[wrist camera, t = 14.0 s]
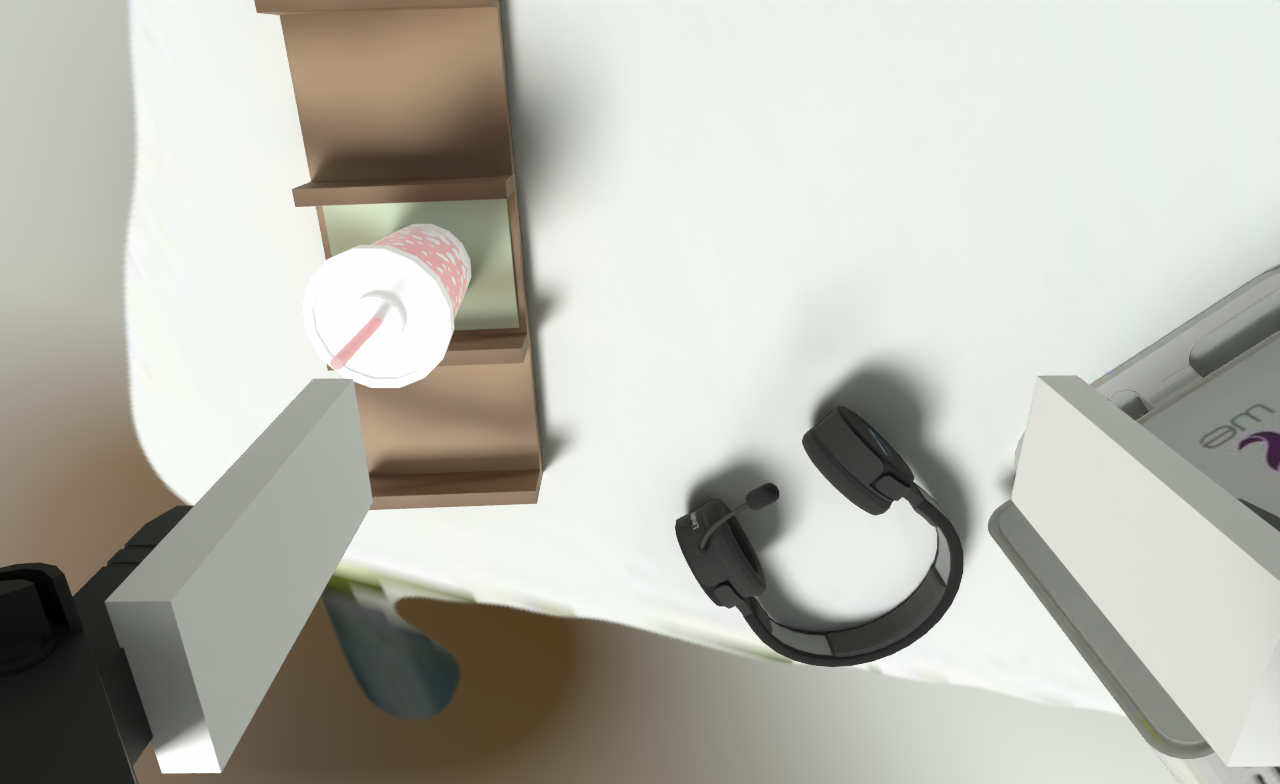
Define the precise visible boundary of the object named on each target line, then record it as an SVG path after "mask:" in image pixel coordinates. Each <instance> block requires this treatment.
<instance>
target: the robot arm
mask: <svg viewBox="0 0 1280 784" xmlns="http://www.w3.org/2000/svg"><path fill="white" fill-rule="evenodd" d="M1011 500H1012V501H1013V503H1014V504H1015V505H1016V506H1017V508H1018V509H1019V510H1020V511H1021V513H1022V514H1023V515H1024V516H1025V517H1026V519H1027V520H1028V521H1029V522H1030V524H1031V525H1032V526H1033V527H1034V529H1035V530H1036V531H1037V532H1038V534H1039V535H1040V536H1041V537H1042V538H1043V540H1044V541H1045V542H1046V543H1047V545H1048V546H1049V547H1050V548H1051V550H1052V551H1053V552H1054V553H1055V555H1056V556H1057V557H1058V558H1059V559H1060V561H1061V562H1062V563H1063V564H1064V566H1065V567H1066V568H1067V569H1068V571H1069V572H1070V573H1071V574H1072V576H1073V577H1074V578H1075V579H1076V580H1077V582H1078V583H1079V584H1080V585H1081V587H1082V588H1083V589H1084V590H1085V592H1086V593H1087V594H1088V595H1089V597H1090V598H1091V599H1092V600H1093V602H1094V603H1095V604H1096V605H1097V606H1098V608H1099V609H1100V610H1101V611H1102V613H1103V614H1104V615H1105V616H1106V618H1107V619H1108V620H1109V621H1110V623H1111V624H1112V625H1113V626H1114V627H1115V629H1116V630H1117V631H1118V632H1119V634H1120V635H1121V636H1122V637H1123V639H1124V640H1125V641H1126V642H1127V644H1128V645H1129V646H1130V647H1131V648H1132V650H1133V651H1134V652H1135V653H1136V655H1137V656H1138V657H1139V658H1140V660H1141V661H1142V662H1143V663H1144V665H1145V666H1146V667H1147V668H1148V670H1149V671H1150V672H1151V673H1152V674H1153V676H1154V677H1155V678H1156V679H1157V681H1158V682H1159V683H1160V684H1161V686H1162V687H1163V688H1164V689H1165V691H1166V692H1167V693H1168V694H1169V695H1170V697H1171V698H1172V699H1173V700H1174V702H1175V703H1176V704H1177V705H1178V707H1179V708H1180V709H1181V710H1182V712H1183V713H1184V714H1185V715H1186V716H1187V718H1188V719H1189V720H1190V721H1191V723H1192V724H1193V725H1194V726H1195V728H1196V729H1197V730H1198V731H1199V733H1200V734H1201V735H1202V736H1203V738H1204V739H1205V740H1206V741H1207V742H1208V744H1209V745H1210V746H1211V747H1212V749H1213V750H1214V751H1215V752H1216V754H1217V755H1218V756H1219V757H1220V759H1221V760H1222V761H1223V762H1224V763H1225V765H1226V766H1227V767H1265V766H1280V518H1279V517H1278V516H1276V515H1274V514H1272V513H1270V512H1268V511H1266V510H1264V509H1261V508H1259V507H1257V506H1255V505H1253V504H1251V503H1249V502H1247V501H1245V500H1243V499H1236V498H1235V497H1234V496H1232V495H1231V494H1230V493H1228V492H1227V491H1226V490H1225V489H1223V488H1222V487H1221V486H1219V485H1218V484H1217V483H1216V482H1214V481H1213V480H1212V479H1210V478H1209V477H1208V476H1206V475H1205V474H1204V473H1203V472H1201V471H1200V470H1199V469H1197V468H1196V467H1195V466H1193V465H1192V464H1191V463H1190V462H1188V461H1187V460H1186V459H1184V458H1183V457H1182V456H1180V455H1179V454H1178V453H1177V452H1175V451H1174V450H1173V449H1171V448H1170V447H1169V446H1168V445H1166V444H1165V443H1164V442H1162V441H1161V440H1160V439H1158V438H1157V437H1156V436H1155V435H1153V434H1152V433H1151V432H1149V431H1148V430H1147V429H1145V428H1144V427H1143V426H1142V425H1140V424H1139V423H1138V422H1136V421H1135V420H1134V419H1133V418H1131V417H1130V416H1129V415H1127V414H1126V413H1125V412H1123V411H1122V410H1121V409H1120V408H1118V407H1117V406H1116V405H1114V404H1113V403H1112V402H1110V401H1109V400H1108V399H1107V398H1105V397H1104V396H1103V395H1101V394H1100V393H1099V392H1097V391H1096V390H1095V389H1094V388H1092V387H1091V386H1090V385H1088V384H1087V383H1086V382H1085V381H1083V380H1082V379H1081V378H1079V377H1078V376H1037V379H1036V384H1035V389H1034V393H1033V398H1032V403H1031V407H1030V412H1029V417H1028V421H1027V426H1026V431H1025V435H1024V440H1023V445H1022V449H1021V454H1020V459H1019V463H1018V468H1017V473H1016V477H1015V482H1014V487H1013V491H1012V496H1011ZM372 503H373V499H372V493H371V487H370V480H369V474H368V468H367V461H366V455H365V449H364V442H363V436H362V430H361V424H360V417H359V411H358V405H357V398H356V392H355V386H354V380H353V379H313V380H312V381H311V382H310V383H309V384H308V385H307V386H306V387H305V388H304V389H303V390H302V391H301V392H300V394H299V395H298V396H297V397H296V398H295V399H294V400H293V401H292V402H291V403H290V404H289V405H288V406H287V407H286V408H285V410H284V411H283V412H282V413H281V414H280V415H279V416H278V417H277V418H276V419H275V420H274V421H273V422H272V423H271V425H270V426H269V427H268V428H267V429H266V430H265V431H264V432H263V433H262V434H261V435H260V436H259V437H258V438H257V439H256V441H255V442H254V443H253V444H252V445H251V446H250V447H249V448H248V449H247V450H246V451H245V452H244V453H243V454H242V455H241V457H240V458H239V459H238V460H237V461H236V462H235V463H234V464H233V465H232V466H231V467H230V468H229V469H228V470H227V471H226V473H225V474H224V475H223V476H222V477H221V478H220V479H219V480H218V481H217V482H216V483H215V484H214V485H213V486H212V487H211V489H210V490H209V491H208V492H207V493H206V494H205V495H204V496H203V497H202V498H201V499H200V500H199V501H198V502H197V503H196V505H195V506H176V507H174V508H172V509H171V510H169V511H167V512H165V513H164V514H162V515H160V516H159V517H157V518H155V519H153V520H152V521H150V522H148V523H147V524H145V525H144V526H143V527H142V528H141V529H140V530H139V531H138V532H137V533H136V534H135V535H134V536H133V537H132V538H131V539H130V540H129V541H128V542H127V543H126V544H125V548H124V549H120V550H119V551H118V552H117V553H116V554H115V555H114V556H113V557H112V558H111V559H110V560H109V561H108V562H107V567H102V568H101V569H100V570H99V571H98V572H97V573H96V574H95V575H94V576H93V577H92V578H91V579H90V580H89V581H88V582H87V583H86V584H85V585H84V586H83V587H82V588H81V589H80V590H79V591H78V592H77V593H76V594H75V595H74V596H73V597H72V595H71V592H70V589H69V586H68V583H67V580H66V578H65V575H64V574H63V572H62V571H61V570H59V568H57V566H54V565H49V564H44V563H25V564H15V565H11V566H7V567H2V568H0V784H138V781H137V778H136V775H135V772H134V769H133V765H134V764H135V762H136V761H137V759H138V758H139V756H140V755H141V754H142V752H143V751H144V749H145V748H146V746H147V745H148V743H149V742H150V740H151V741H152V745H153V747H154V751H155V754H156V757H157V760H158V762H159V765H160V768H161V771H162V773H221V772H222V770H223V768H224V767H225V765H226V763H227V761H228V759H229V758H230V756H231V754H232V752H233V751H234V749H235V747H236V745H237V744H238V742H239V740H240V738H241V736H242V735H243V733H244V731H245V729H246V727H247V726H248V724H249V722H250V720H251V719H252V717H253V715H254V713H255V711H256V710H257V708H258V706H259V704H260V703H261V701H262V699H263V697H264V695H265V694H266V692H267V690H268V688H269V687H270V685H271V683H272V681H273V679H274V678H275V676H276V674H277V672H278V671H279V669H280V667H281V665H282V663H283V662H284V660H285V658H286V656H287V654H288V653H289V651H290V649H291V647H292V645H293V644H294V642H295V640H296V638H297V637H298V635H299V633H300V631H301V630H302V627H303V626H304V624H305V622H306V621H307V619H308V617H309V615H310V614H311V612H312V610H313V608H314V606H315V605H316V603H317V601H318V599H319V598H320V596H321V594H322V592H323V590H324V589H325V587H326V585H327V583H328V582H329V580H330V578H331V576H332V574H333V573H334V571H335V569H336V567H337V565H338V564H339V562H340V560H341V558H342V557H343V555H344V553H345V551H346V549H347V548H348V546H349V544H350V542H351V541H352V539H353V537H354V535H355V533H356V532H357V530H358V528H359V526H360V525H361V523H362V521H363V519H364V517H365V516H366V514H367V512H368V510H369V509H370V507H371V505H372Z"/></svg>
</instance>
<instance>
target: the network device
mask: <svg viewBox="0 0 1280 784" xmlns="http://www.w3.org/2000/svg"><path fill="white" fill-rule="evenodd" d="M1278 289H1280V268H1277V269H1274V270H1271V271H1268V272H1265V273H1263V274H1261V275H1260V276H1258V277H1256V278H1254V279H1253V280H1251V281H1250V282H1248V283H1246V284H1245V285H1243V286H1242V287H1240V288H1239V289H1237V290H1236V291H1234V292H1233V293H1231V294H1230V295H1228V296H1226V297H1225V298H1223V299H1222V300H1220V301H1219V302H1217V303H1216V304H1214V305H1213V306H1211V307H1210V308H1208V309H1206V310H1205V311H1203V312H1202V313H1200V314H1199V315H1197V316H1196V317H1194V318H1193V319H1191V320H1190V321H1188V322H1186V323H1185V324H1183V325H1182V326H1180V327H1179V328H1177V329H1176V330H1174V331H1173V332H1171V333H1170V334H1168V335H1167V336H1165V337H1163V338H1162V339H1160V340H1159V341H1157V342H1156V343H1154V344H1153V345H1151V346H1150V347H1148V348H1147V349H1145V350H1143V351H1142V352H1140V353H1139V354H1137V355H1136V356H1134V357H1133V358H1131V359H1130V360H1128V361H1127V362H1125V363H1123V364H1122V365H1120V366H1119V367H1117V368H1116V369H1114V370H1113V371H1111V372H1110V373H1108V374H1107V375H1105V376H1103V377H1102V378H1100V379H1099V380H1097V381H1096V382H1094V383H1093V384H1091V385H1090V386H1091V387H1092V388H1094V389H1095V390H1096V391H1097V392H1099V393H1100V394H1101V395H1103V396H1104V397H1105V398H1107V399H1108V398H1110V397H1111V396H1113V395H1114V394H1116V393H1118V392H1121V391H1127V390H1129V391H1135V392H1136V393H1137V395H1138V396H1139V398H1140V399H1141V401H1142V403H1143V404H1144V406H1145V407H1146V409H1147V411H1148V413H1147V414H1145V415H1143V416H1142V417H1140V418H1139V419H1137V420H1135V421H1136V422H1138V423H1139V424H1140V425H1142V426H1143V427H1144V428H1145V429H1147V430H1148V431H1149V432H1151V433H1152V434H1153V435H1155V436H1156V437H1157V438H1158V439H1160V440H1161V441H1162V442H1164V443H1165V444H1166V445H1168V446H1169V447H1170V448H1171V449H1173V450H1174V451H1175V452H1177V453H1178V454H1179V455H1180V456H1182V457H1183V458H1184V459H1186V460H1187V461H1188V462H1190V463H1191V464H1192V465H1193V466H1195V467H1196V468H1197V469H1199V470H1200V471H1201V472H1203V473H1204V474H1205V475H1206V476H1208V477H1209V478H1210V479H1212V480H1213V481H1214V482H1216V483H1217V484H1218V485H1219V486H1221V487H1222V488H1223V489H1225V490H1226V491H1227V492H1228V493H1230V494H1231V495H1232V496H1234V497H1235V498H1236V499H1243V500H1245V501H1247V502H1249V503H1251V504H1253V505H1255V506H1257V507H1259V508H1261V509H1264V510H1266V511H1268V512H1270V513H1272V514H1274V515H1276V516H1278V517H1279V518H1280V330H1278V331H1277V332H1275V333H1274V334H1272V335H1270V336H1269V337H1267V338H1266V339H1264V340H1263V341H1261V342H1259V343H1258V344H1256V345H1255V346H1253V347H1251V348H1250V349H1248V350H1247V351H1245V352H1243V353H1242V354H1240V355H1239V356H1237V357H1236V358H1234V359H1232V360H1231V361H1229V362H1228V363H1226V364H1224V365H1223V366H1221V367H1220V368H1218V369H1216V370H1215V371H1213V372H1212V373H1210V374H1209V375H1207V376H1205V377H1204V378H1203V377H1202V376H1200V375H1199V374H1198V373H1197V372H1196V371H1195V370H1194V369H1193V368H1192V367H1191V366H1190V364H1189V356H1190V352H1191V350H1192V348H1193V347H1194V345H1195V344H1196V343H1197V342H1198V341H1199V340H1200V339H1202V338H1203V337H1205V336H1206V335H1208V334H1209V333H1211V332H1212V331H1214V330H1215V329H1217V328H1219V327H1220V326H1222V325H1223V324H1225V323H1226V322H1228V321H1229V320H1231V319H1233V318H1234V317H1236V316H1237V315H1239V314H1240V313H1242V312H1243V311H1245V310H1247V309H1248V308H1250V307H1251V306H1253V305H1254V304H1256V303H1257V302H1259V301H1261V300H1262V299H1264V298H1265V297H1267V296H1268V295H1270V294H1271V293H1273V292H1275V291H1276V290H1278ZM1024 435H1025V432H1024V434H1023V435H1022V437H1021V439H1020V440H1019V442H1018V445H1017V448H1016V451H1015V467H1016V471H1017V468H1018V463H1019V459H1020V454H1021V449H1022V445H1023V440H1024ZM988 531H989V533H990V535H991V536H992V538H993V539H994V540H995V541H996V543H997V544H998V545H999V547H1000V548H1001V549H1002V551H1003V552H1004V553H1005V555H1006V556H1007V557H1008V559H1009V560H1010V561H1011V563H1012V564H1013V565H1014V567H1015V568H1016V569H1017V571H1018V572H1019V573H1020V575H1021V576H1022V577H1023V579H1024V580H1025V581H1026V583H1027V584H1028V585H1029V587H1030V588H1031V589H1032V590H1033V592H1034V593H1035V594H1036V596H1037V597H1038V598H1039V600H1040V601H1041V602H1042V604H1043V605H1044V606H1045V608H1046V609H1047V610H1048V612H1049V613H1050V614H1051V616H1052V617H1053V618H1054V620H1055V621H1056V622H1057V624H1058V625H1059V626H1060V628H1061V629H1062V630H1063V632H1064V633H1065V634H1066V636H1067V637H1068V638H1069V640H1070V641H1071V642H1072V643H1073V645H1074V646H1075V647H1076V649H1077V650H1078V651H1079V653H1080V654H1081V655H1082V657H1083V658H1084V659H1085V661H1086V662H1087V663H1088V665H1089V666H1090V667H1091V669H1092V670H1093V671H1094V673H1095V674H1096V675H1097V677H1098V678H1099V679H1100V681H1101V682H1102V683H1103V685H1104V686H1105V687H1106V689H1107V690H1108V691H1109V692H1110V694H1111V695H1112V696H1113V698H1114V699H1115V700H1116V702H1117V703H1118V704H1119V706H1120V707H1121V708H1122V710H1123V711H1124V712H1125V714H1126V715H1127V716H1128V718H1129V719H1130V720H1131V722H1132V723H1133V724H1134V726H1135V727H1136V728H1137V729H1138V731H1139V732H1140V733H1141V735H1142V736H1143V737H1144V739H1145V740H1146V741H1147V743H1148V744H1149V745H1150V747H1151V748H1152V749H1153V751H1154V752H1155V753H1156V754H1157V756H1158V757H1159V759H1160V760H1161V761H1162V763H1163V764H1164V765H1165V766H1166V767H1167V769H1168V770H1169V772H1170V773H1171V774H1172V776H1173V777H1174V778H1175V780H1176V781H1177V782H1178V783H1179V784H1280V766H1265V767H1227V766H1226V765H1225V763H1224V762H1223V761H1222V760H1221V759H1220V757H1219V756H1218V755H1217V754H1216V752H1215V751H1214V750H1213V749H1212V747H1211V746H1210V745H1209V744H1208V742H1207V741H1206V740H1205V739H1204V738H1203V736H1202V735H1201V734H1200V733H1199V731H1198V730H1197V729H1196V728H1195V726H1194V725H1193V724H1192V723H1191V721H1190V720H1189V719H1188V718H1187V716H1186V715H1185V714H1184V713H1183V712H1182V710H1181V709H1180V708H1179V707H1178V705H1177V704H1176V703H1175V702H1174V700H1173V699H1172V698H1171V697H1170V695H1169V694H1168V693H1167V692H1166V691H1165V689H1164V688H1163V687H1162V686H1161V684H1160V683H1159V682H1158V681H1157V679H1156V678H1155V677H1154V676H1153V674H1152V673H1151V672H1150V671H1149V670H1148V668H1147V667H1146V666H1145V665H1144V663H1143V662H1142V661H1141V660H1140V658H1139V657H1138V656H1137V655H1136V653H1135V652H1134V651H1133V650H1132V648H1131V647H1130V646H1129V645H1128V644H1127V642H1126V641H1125V640H1124V639H1123V637H1122V636H1121V635H1120V634H1119V632H1118V631H1117V630H1116V629H1115V627H1114V626H1113V625H1112V624H1111V623H1110V621H1109V620H1108V619H1107V618H1106V616H1105V615H1104V614H1103V613H1102V611H1101V610H1100V609H1099V608H1098V606H1097V605H1096V604H1095V603H1094V602H1093V600H1092V599H1091V598H1090V597H1089V595H1088V594H1087V593H1086V592H1085V590H1084V589H1083V588H1082V587H1081V585H1080V584H1079V583H1078V582H1077V580H1076V579H1075V578H1074V577H1073V576H1072V574H1071V573H1070V572H1069V571H1068V569H1067V568H1066V567H1065V566H1064V564H1063V563H1062V562H1061V561H1060V559H1059V558H1058V557H1057V556H1056V555H1055V553H1054V552H1053V551H1052V550H1051V548H1050V547H1049V546H1048V545H1047V543H1046V542H1045V541H1044V540H1043V538H1042V537H1041V536H1040V535H1039V534H1038V532H1037V531H1036V530H1035V529H1034V527H1033V526H1032V525H1031V524H1030V522H1029V521H1028V520H1027V519H1026V517H1025V516H1024V515H1023V514H1022V513H1021V511H1020V510H1019V509H1018V508H1017V506H1016V505H1015V504H1014V503H1013V501H1012V500H1011V499H1010V500H1008V501H1007V502H1005V503H1004V504H1002V505H1001V506H1000V507H998V508H997V509H996V510H995V511H994V513H993V514H992V515H991V517H990V519H989V522H988Z"/></svg>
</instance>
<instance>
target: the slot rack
mask: <svg viewBox="0 0 1280 784" xmlns="http://www.w3.org/2000/svg"><path fill="white" fill-rule="evenodd" d="M254 1H255V6H256V11H257V13H265V14H274V15H280V19H281V24H282V30H283V35H284V40H285V45H286V51H287V56H288V61H289V67H290V72H291V77H292V82H293V88H294V93H295V98H296V104H297V109H298V114H299V119H300V125H301V130H302V135H303V141H304V146H305V151H306V157H307V162H308V167H309V172H310V178H311V182H309V183H307V184H304V185H302V186H299V187H297V188H295V189H292V192H293V197H294V202H295V207H303V206H316V209H317V215H318V220H319V225H320V231H321V236H322V241H323V247H324V252H325V257H326V261H327V260H328V259H329V258H331V257H333V256H335V255H337V254H340V253H342V252H344V251H347V250H349V249H351V248H354V247H356V246H359V245H370V244H372V243H374V242H376V241H378V240H380V239H382V238H384V237H386V236H388V235H390V234H392V233H394V232H396V231H398V230H401V229H403V228H405V227H408V226H410V225H412V224H433V225H435V226H438V227H440V228H443V229H445V230H448V231H449V232H451V233H452V234H453V235H454V236H455V237H456V238H457V239H458V240H459V241H460V242H461V243H462V244H463V246H464V248H465V250H466V252H467V254H468V256H469V258H470V264H471V279H470V282H469V285H468V288H467V291H466V293H465V295H464V298H463V300H462V302H461V305H460V307H459V309H458V312H457V314H456V316H455V318H454V331H453V334H452V337H451V340H450V343H449V345H448V348H447V351H446V353H445V356H444V358H443V360H442V361H441V362H440V363H439V364H438V365H437V366H436V367H435V368H434V369H433V370H432V371H431V372H430V373H429V374H428V375H427V376H426V377H425V378H423V379H421V380H418V381H416V382H413V383H410V384H408V385H405V386H403V387H400V388H371V387H368V386H365V385H363V384H360V383H357V382H354V386H355V392H356V398H357V405H358V411H359V417H360V424H361V430H362V436H363V442H364V449H365V455H366V461H367V468H368V474H369V480H370V487H371V493H372V499H373V503H372V505H371V507H370V509H369V510H380V509H407V508H433V507H459V506H485V505H511V504H537V500H538V495H539V490H540V485H541V480H542V475H543V469H542V458H541V448H540V437H539V426H538V415H537V404H536V393H535V383H534V372H533V361H532V350H531V339H530V328H529V317H528V307H527V296H526V285H525V274H524V263H523V252H522V242H521V231H520V220H519V209H518V198H517V187H516V176H515V166H514V155H513V144H512V133H511V122H510V111H509V101H508V90H507V79H506V68H505V57H504V46H503V35H502V25H501V14H500V3H499V0H254ZM327 368H328V370H334V369H333V368H332V367H330V366H329V365H328V364H327Z"/></svg>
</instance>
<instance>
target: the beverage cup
mask: <svg viewBox="0 0 1280 784" xmlns="http://www.w3.org/2000/svg"><path fill="white" fill-rule="evenodd" d="M470 279H471V264H470V258H469V256H468V254H467V252H466V250H465V248H464V246H463V244H462V243H461V242H460V241H459V240H458V239H457V238H456V237H455V236H454V235H453V234H452V233H451V232H449V231H448V230H445V229H443V228H440V227H438V226H435V225H433V224H412V225H410V226H408V227H405V228H403V229H401V230H398V231H396V232H394V233H392V234H390V235H388V236H386V237H384V238H382V239H380V240H378V241H376V242H374V243H372V244H370V245H359V246H356V247H354V248H351V249H349V250H347V251H344V252H342V253H340V254H337V255H335V256H333V257H331V258H329V259H328V260H327V261H326V262H325V263H324V264H323V265H322V266H321V267H320V268H319V270H318V271H317V272H316V273H315V274H314V275H313V276H312V278H311V279H310V280H309V283H308V286H307V290H306V294H305V297H304V301H303V304H302V310H303V316H304V322H305V329H306V334H307V336H308V338H309V339H310V341H311V343H312V344H313V346H314V348H315V349H316V351H317V353H318V354H319V356H320V358H321V359H322V360H323V361H324V362H325V363H327V364H328V365H329V366H330V367H332V368H333V369H334V370H335V371H336V372H338V373H339V374H340V375H341V376H343V377H344V378H346V379H353V380H354V382H357V383H360V384H363V385H365V386H368V387H371V388H400V387H403V386H405V385H408V384H410V383H413V382H416V381H418V380H421V379H423V378H425V377H426V376H427V375H428V374H429V373H430V372H431V371H432V370H433V369H434V368H435V367H436V366H437V365H438V364H439V363H440V362H441V361H442V360H443V358H444V356H445V353H446V351H447V348H448V345H449V343H450V340H451V337H452V334H453V331H454V318H455V316H456V314H457V312H458V309H459V307H460V305H461V302H462V300H463V298H464V295H465V293H466V291H467V288H468V285H469V282H470Z"/></svg>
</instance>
